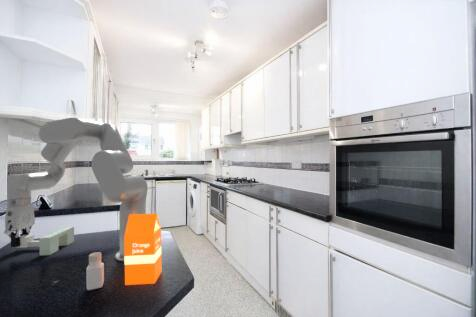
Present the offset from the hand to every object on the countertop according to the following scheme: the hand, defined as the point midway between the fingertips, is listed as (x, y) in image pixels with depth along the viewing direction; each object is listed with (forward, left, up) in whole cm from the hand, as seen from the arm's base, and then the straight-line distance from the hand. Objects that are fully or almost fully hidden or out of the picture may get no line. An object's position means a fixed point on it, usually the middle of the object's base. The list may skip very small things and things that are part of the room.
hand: (20, 244), depth 99 cm
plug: (-7, 0, -1) cm, 7 cm away
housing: (-15, 0, -3) cm, 15 cm away
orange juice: (-62, +34, -3) cm, 70 cm away
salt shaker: (-49, +37, -3) cm, 61 cm away
